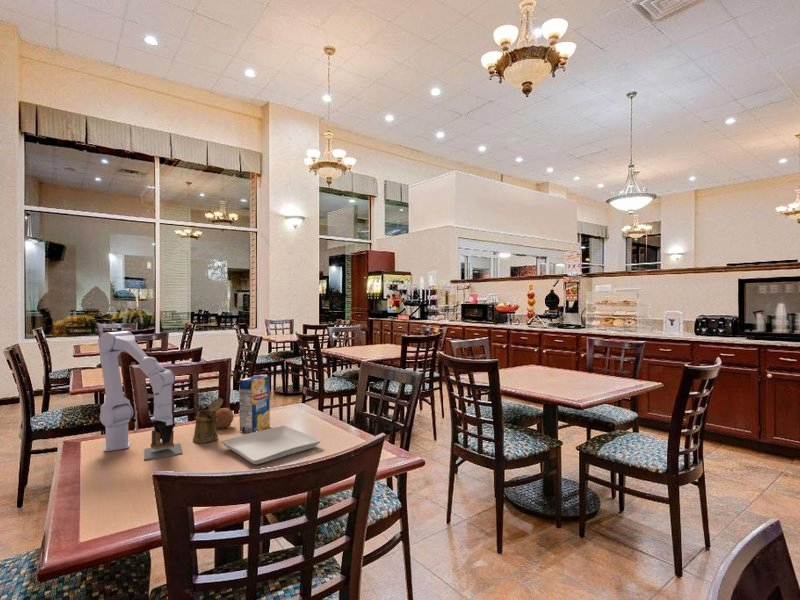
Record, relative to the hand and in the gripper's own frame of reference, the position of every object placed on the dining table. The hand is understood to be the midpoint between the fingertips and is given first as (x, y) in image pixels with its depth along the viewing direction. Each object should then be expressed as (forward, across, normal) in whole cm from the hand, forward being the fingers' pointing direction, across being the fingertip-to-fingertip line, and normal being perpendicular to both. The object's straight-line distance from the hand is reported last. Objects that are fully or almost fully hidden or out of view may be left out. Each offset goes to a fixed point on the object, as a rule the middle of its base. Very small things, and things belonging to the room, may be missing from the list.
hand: (163, 440), depth 158 cm
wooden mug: (+4, -1, +17) cm, 17 cm away
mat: (+4, 0, 0) cm, 4 cm away
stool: (+2, 0, 0) cm, 2 cm away
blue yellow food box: (+4, -2, +37) cm, 37 cm away
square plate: (+5, +25, +29) cm, 39 cm away
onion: (+4, -13, +27) cm, 31 cm away
